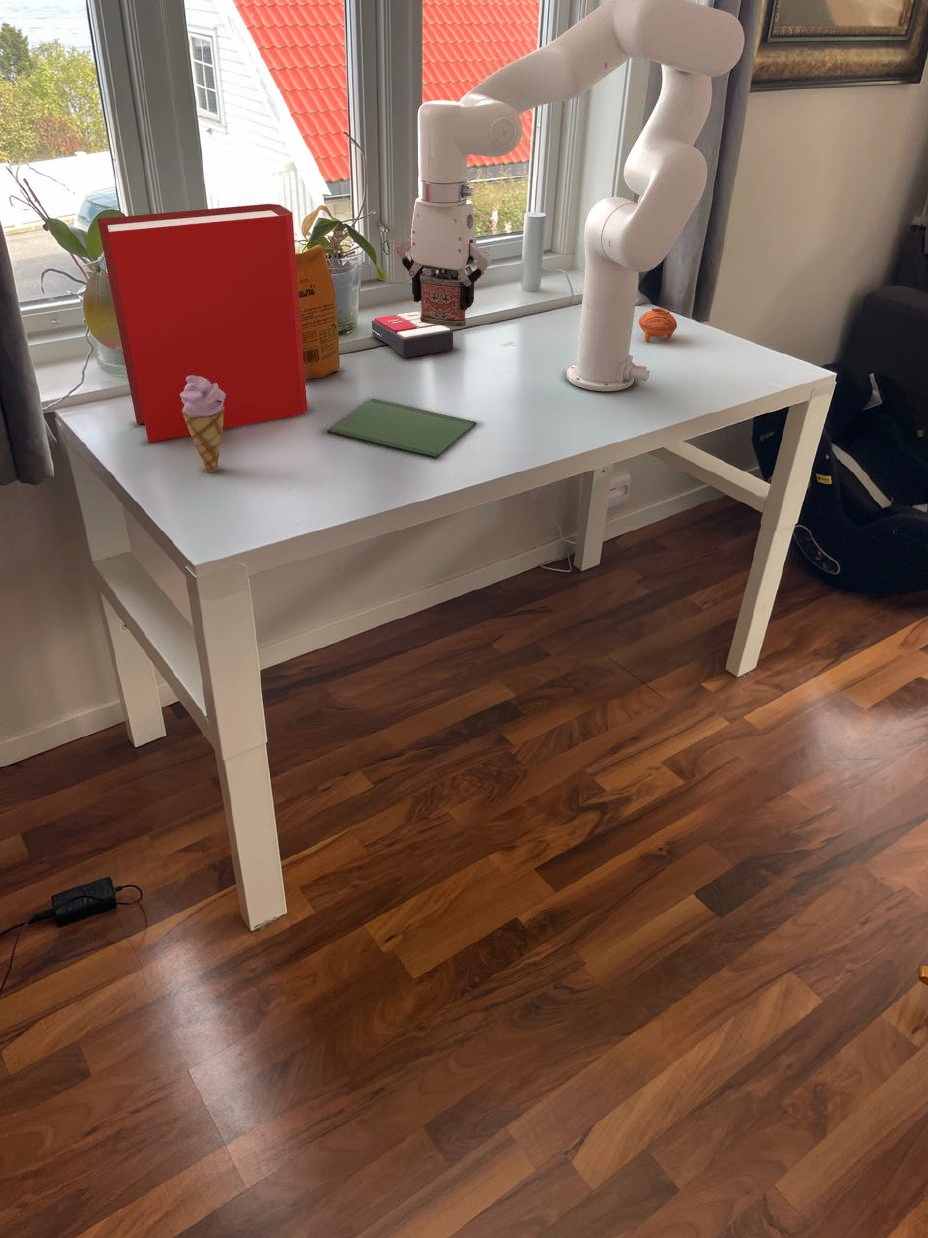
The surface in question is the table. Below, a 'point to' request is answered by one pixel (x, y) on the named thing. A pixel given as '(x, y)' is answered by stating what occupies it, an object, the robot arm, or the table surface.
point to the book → (208, 312)
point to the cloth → (403, 428)
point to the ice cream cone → (204, 418)
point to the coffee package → (317, 314)
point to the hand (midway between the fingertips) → (442, 303)
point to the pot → (657, 323)
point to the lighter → (441, 298)
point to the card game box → (412, 334)
